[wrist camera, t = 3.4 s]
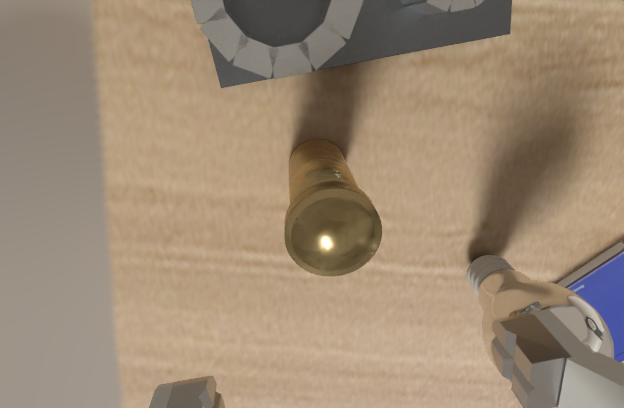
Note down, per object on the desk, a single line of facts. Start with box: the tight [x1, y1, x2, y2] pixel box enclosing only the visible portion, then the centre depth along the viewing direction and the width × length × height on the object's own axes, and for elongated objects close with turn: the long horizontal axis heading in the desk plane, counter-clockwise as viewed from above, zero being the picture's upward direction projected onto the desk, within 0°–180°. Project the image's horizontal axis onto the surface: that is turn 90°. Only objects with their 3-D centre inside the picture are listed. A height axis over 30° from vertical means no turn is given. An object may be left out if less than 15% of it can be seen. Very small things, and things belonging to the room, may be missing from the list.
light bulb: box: [467, 255, 614, 383], centre depth 26 cm, size 7×7×12 cm
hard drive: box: [557, 242, 624, 362], centre depth 34 cm, size 2×8×12 cm
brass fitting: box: [285, 139, 382, 276], centre depth 22 cm, size 5×5×10 cm
